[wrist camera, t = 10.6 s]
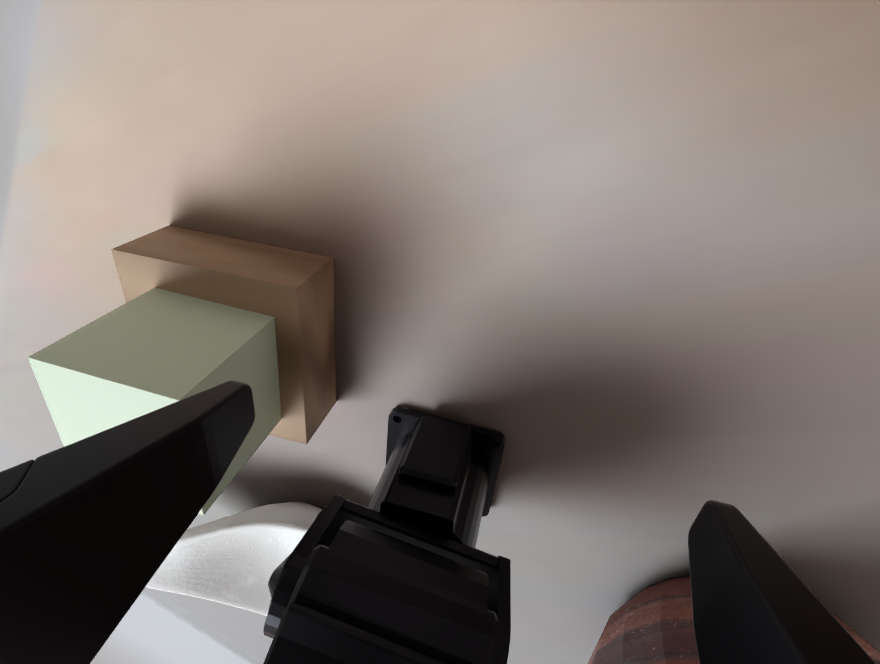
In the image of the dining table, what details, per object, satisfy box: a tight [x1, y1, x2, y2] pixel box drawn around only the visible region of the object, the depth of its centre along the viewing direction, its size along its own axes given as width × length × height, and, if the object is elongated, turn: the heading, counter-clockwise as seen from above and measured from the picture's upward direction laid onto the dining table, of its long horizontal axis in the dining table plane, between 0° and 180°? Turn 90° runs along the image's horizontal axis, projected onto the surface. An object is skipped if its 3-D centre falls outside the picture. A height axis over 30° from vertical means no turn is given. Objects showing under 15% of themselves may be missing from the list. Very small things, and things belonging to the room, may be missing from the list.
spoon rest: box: [145, 502, 322, 616], centre depth 32 cm, size 24×12×7 cm, turn 76°
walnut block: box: [111, 225, 336, 444], centre depth 25 cm, size 9×9×4 cm
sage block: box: [28, 288, 281, 515], centre depth 20 cm, size 6×6×6 cm
